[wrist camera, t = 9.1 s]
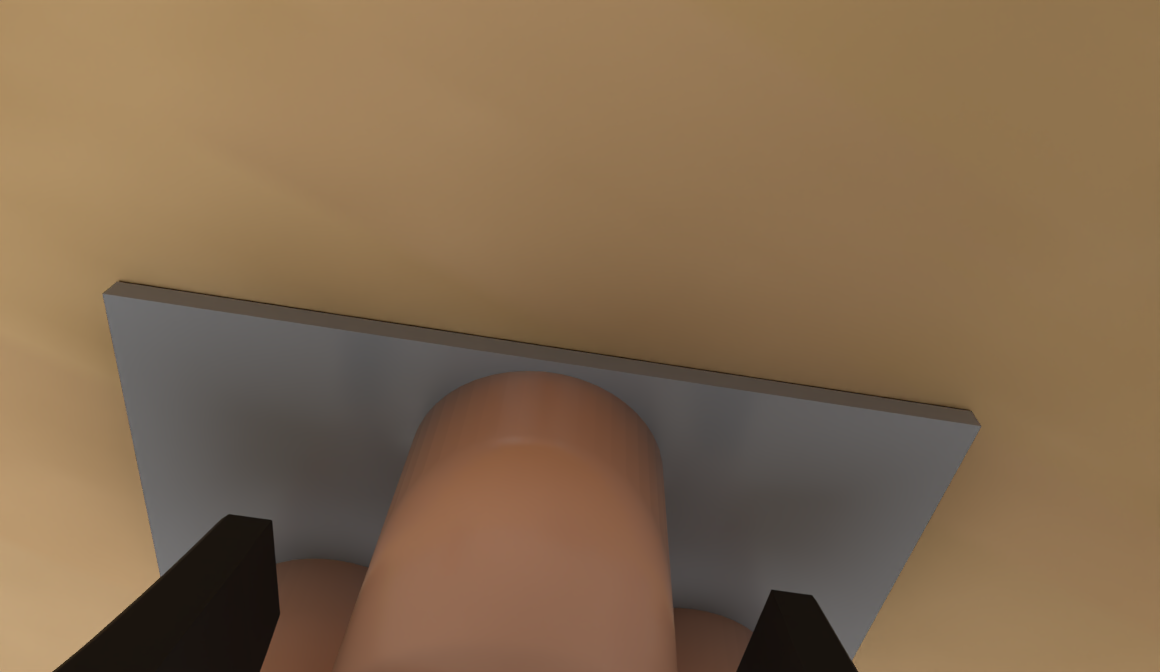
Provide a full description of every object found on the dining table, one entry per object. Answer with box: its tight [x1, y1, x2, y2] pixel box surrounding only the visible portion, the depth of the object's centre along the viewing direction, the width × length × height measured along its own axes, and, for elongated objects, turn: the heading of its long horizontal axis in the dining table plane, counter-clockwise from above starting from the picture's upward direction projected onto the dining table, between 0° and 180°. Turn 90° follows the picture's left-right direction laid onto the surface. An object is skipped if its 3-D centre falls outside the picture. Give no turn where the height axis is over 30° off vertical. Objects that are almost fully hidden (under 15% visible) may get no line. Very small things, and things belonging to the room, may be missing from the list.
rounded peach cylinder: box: [332, 371, 678, 672], centre depth 11 cm, size 4×4×5 cm
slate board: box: [103, 282, 981, 661], centre depth 15 cm, size 14×11×1 cm
